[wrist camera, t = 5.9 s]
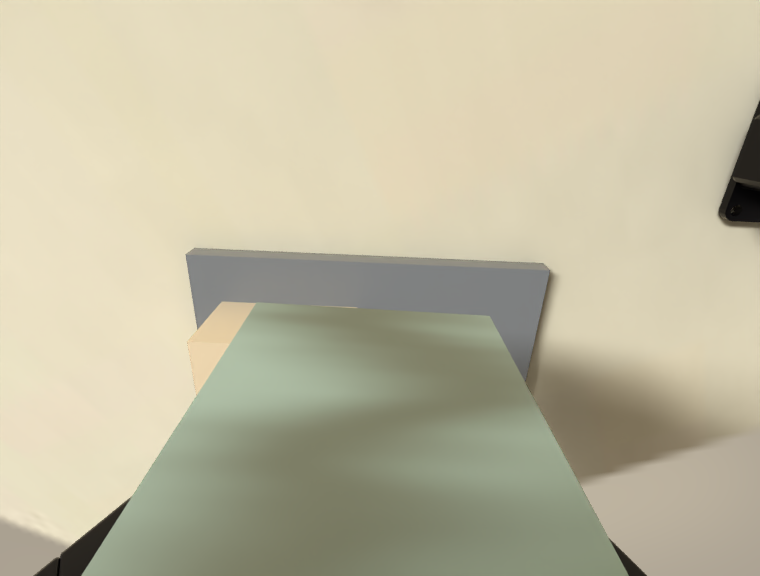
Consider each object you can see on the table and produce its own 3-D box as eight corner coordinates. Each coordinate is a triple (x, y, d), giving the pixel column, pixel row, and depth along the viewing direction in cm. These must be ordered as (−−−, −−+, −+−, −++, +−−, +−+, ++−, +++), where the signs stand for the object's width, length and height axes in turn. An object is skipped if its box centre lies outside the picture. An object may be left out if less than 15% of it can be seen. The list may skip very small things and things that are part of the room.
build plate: (543, 263, 21) (585, 306, 17) (505, 441, 26) (530, 512, 21) (194, 248, 21) (140, 286, 17) (221, 429, 26) (185, 497, 21)
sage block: (489, 315, 9) (671, 653, 3) (457, 484, 11) (537, 870, 5) (256, 302, 9) (45, 631, 3) (266, 474, 11) (146, 862, 5)
